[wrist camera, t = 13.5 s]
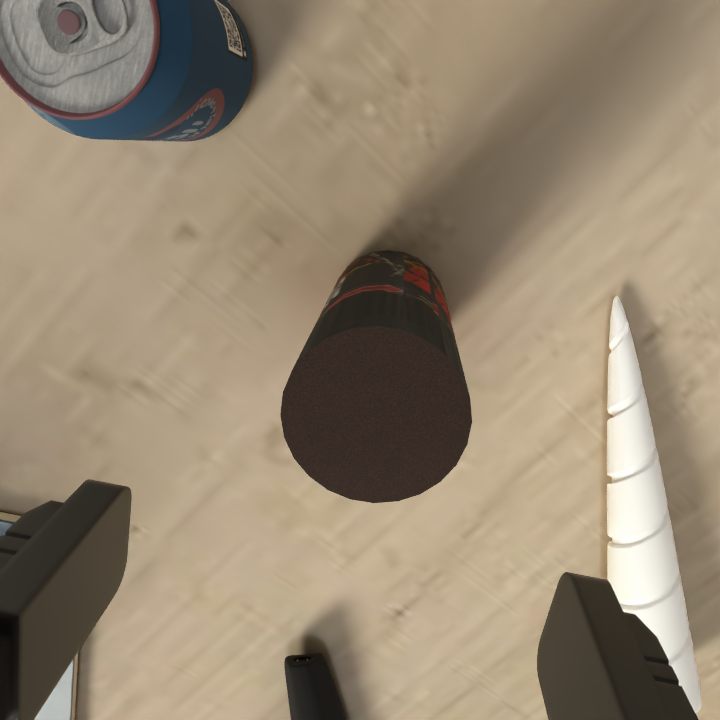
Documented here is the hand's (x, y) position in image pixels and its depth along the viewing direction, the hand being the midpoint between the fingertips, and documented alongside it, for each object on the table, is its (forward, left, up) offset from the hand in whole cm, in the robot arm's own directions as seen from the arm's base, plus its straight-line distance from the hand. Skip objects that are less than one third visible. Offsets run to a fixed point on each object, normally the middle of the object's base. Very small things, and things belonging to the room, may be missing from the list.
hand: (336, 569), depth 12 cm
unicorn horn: (+10, +16, -24) cm, 30 cm away
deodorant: (+1, 0, -24) cm, 24 cm away
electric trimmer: (+30, +2, -24) cm, 38 cm away
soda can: (-9, -11, -24) cm, 28 cm away
